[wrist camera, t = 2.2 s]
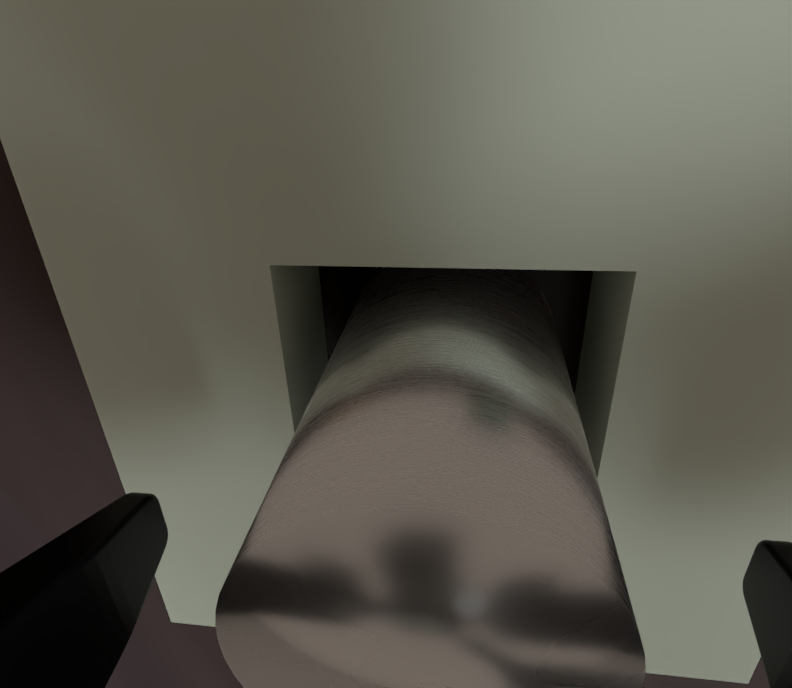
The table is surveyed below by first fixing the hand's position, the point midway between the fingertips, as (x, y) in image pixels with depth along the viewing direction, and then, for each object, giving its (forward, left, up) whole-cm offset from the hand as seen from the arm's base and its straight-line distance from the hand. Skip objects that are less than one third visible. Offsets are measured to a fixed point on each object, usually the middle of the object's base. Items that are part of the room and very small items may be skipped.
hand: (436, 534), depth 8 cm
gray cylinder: (0, 0, -6) cm, 6 cm away
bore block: (0, 0, -6) cm, 6 cm away
